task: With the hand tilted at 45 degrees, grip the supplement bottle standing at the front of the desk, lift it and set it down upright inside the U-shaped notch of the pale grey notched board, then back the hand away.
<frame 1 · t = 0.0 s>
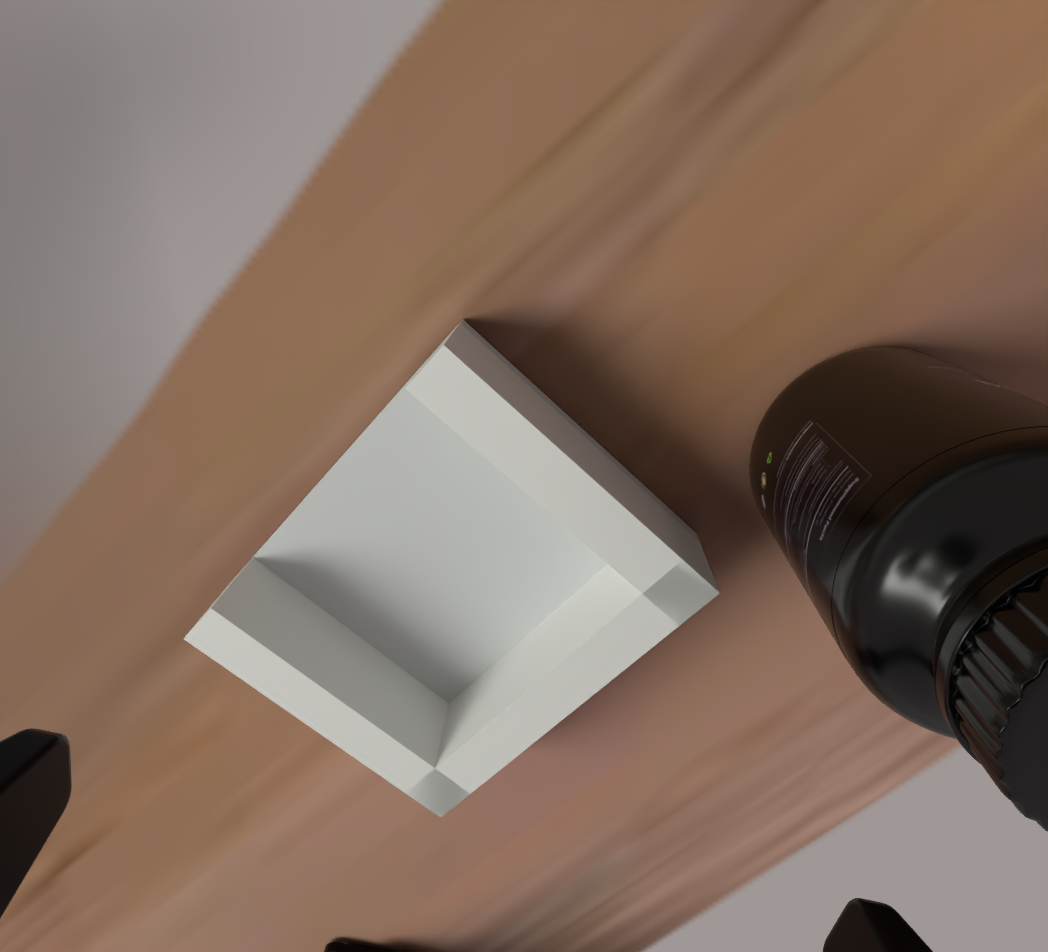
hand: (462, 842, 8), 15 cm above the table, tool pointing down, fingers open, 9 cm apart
supplement bottle: (853, 449, 21), on the table
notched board: (435, 536, 23), on the table
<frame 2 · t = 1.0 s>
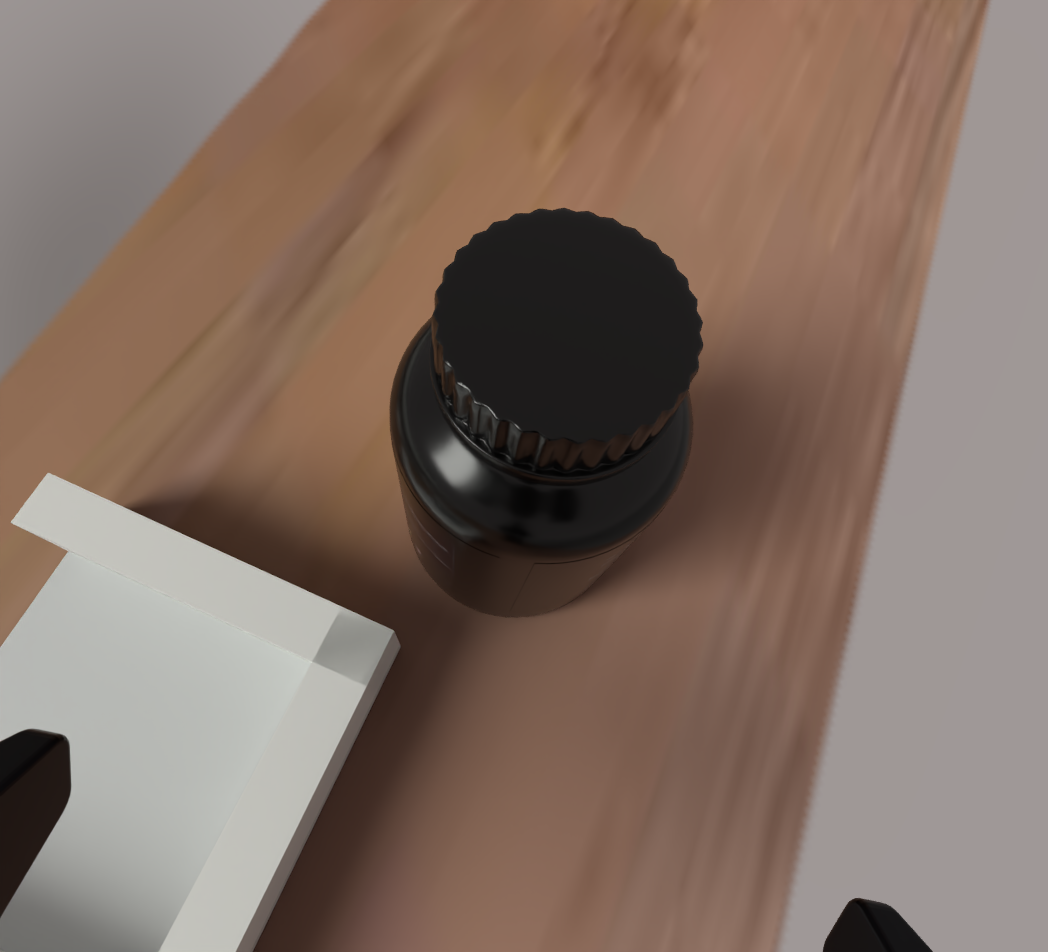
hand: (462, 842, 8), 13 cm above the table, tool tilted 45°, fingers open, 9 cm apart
supplement bottle: (509, 519, 23), on the table
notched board: (106, 759, 19), on the table
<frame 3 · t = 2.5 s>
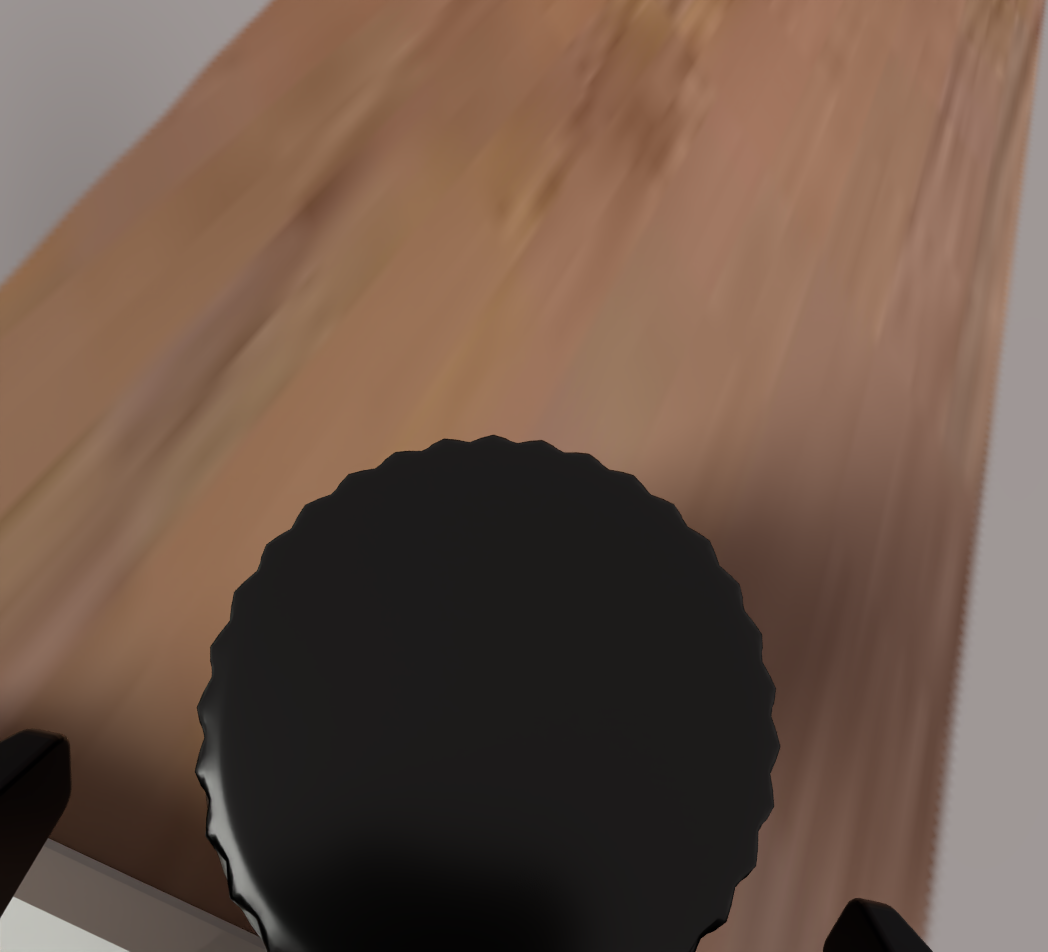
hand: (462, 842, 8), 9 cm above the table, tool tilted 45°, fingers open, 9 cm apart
supplement bottle: (459, 737, 17), on the table
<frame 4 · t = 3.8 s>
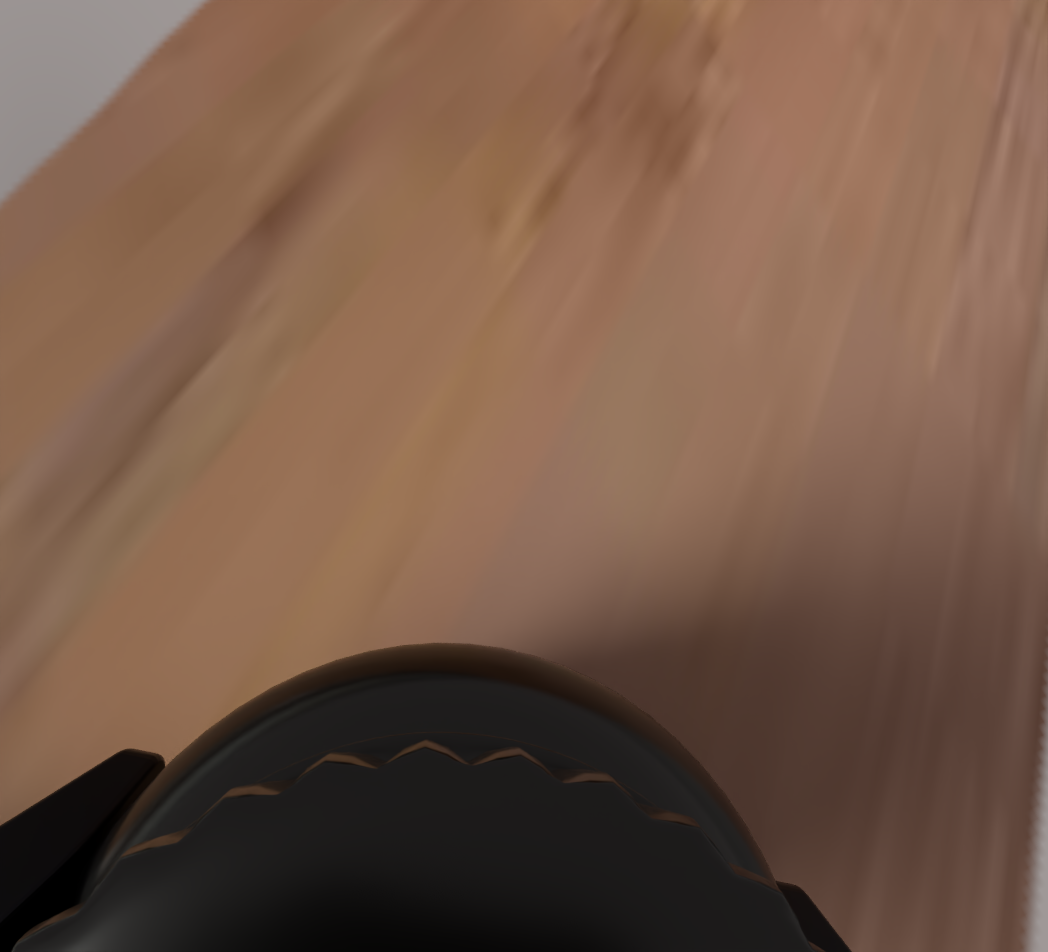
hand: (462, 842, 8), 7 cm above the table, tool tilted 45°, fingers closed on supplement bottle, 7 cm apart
supplement bottle: (435, 880, 14), on the table, touching gripper
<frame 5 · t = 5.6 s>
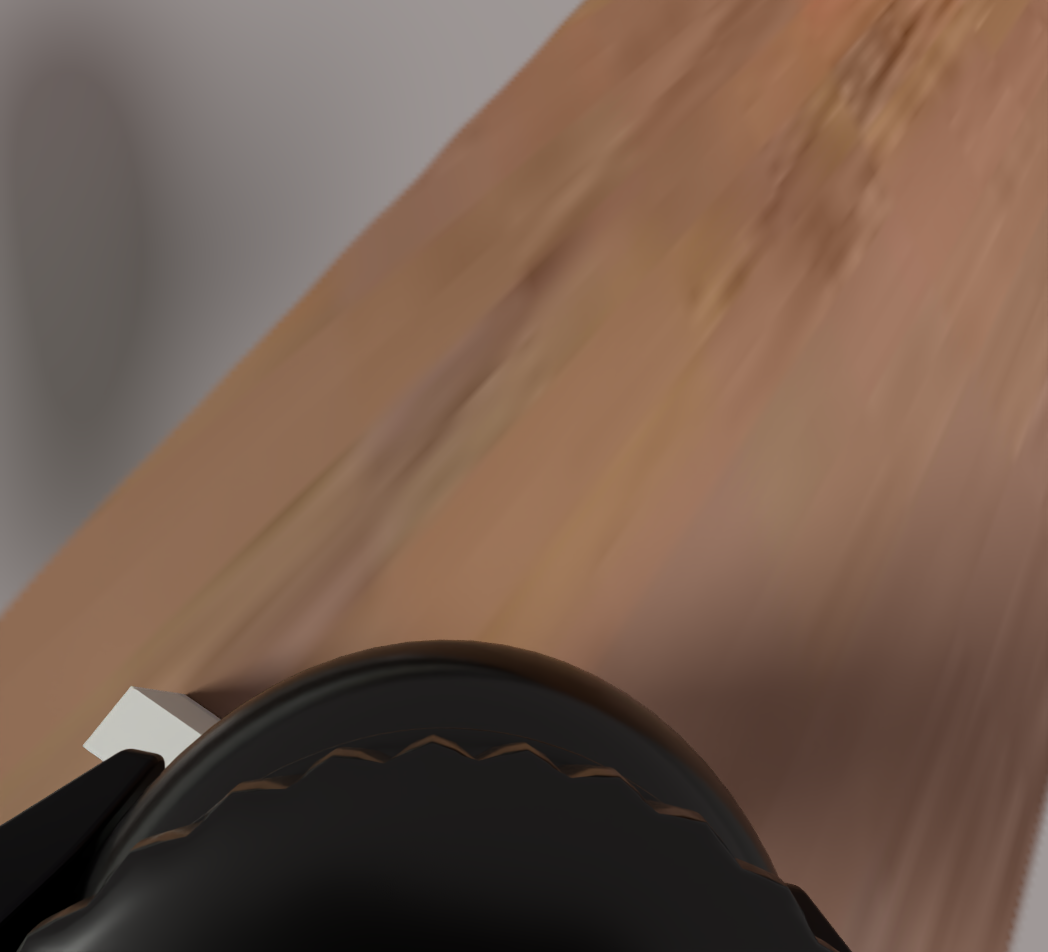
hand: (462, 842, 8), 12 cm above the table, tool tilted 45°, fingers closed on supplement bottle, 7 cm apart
supplement bottle: (438, 877, 14), point 5 cm above the table, touching gripper
when the fingers open (8 cm above the table, at t = 7.6 s): supplement bottle drops 1 cm, resting on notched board.
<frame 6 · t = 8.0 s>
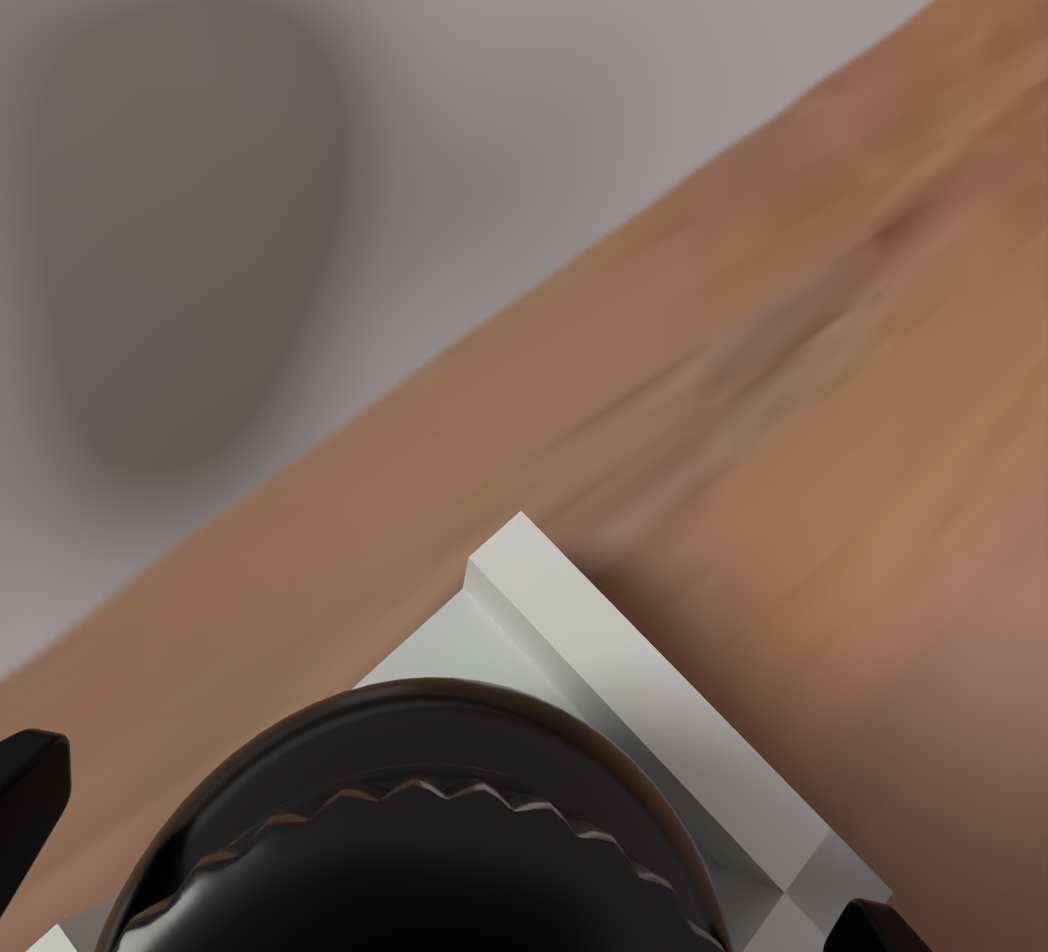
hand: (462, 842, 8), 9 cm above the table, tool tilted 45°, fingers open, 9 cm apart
supplement bottle: (429, 876, 15), resting on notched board
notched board: (433, 863, 15), on the table
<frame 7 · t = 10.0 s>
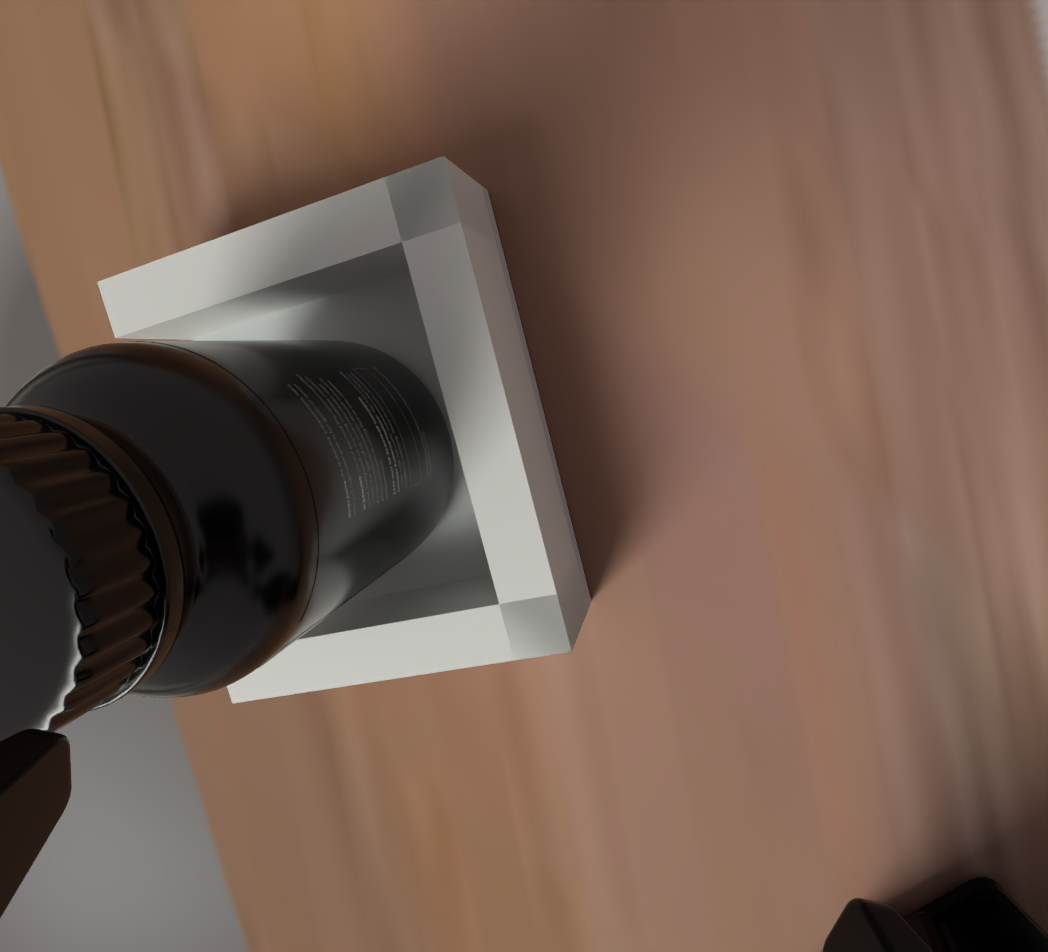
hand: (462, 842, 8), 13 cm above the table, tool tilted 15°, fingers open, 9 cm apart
supplement bottle: (354, 456, 21), resting on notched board
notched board: (356, 449, 21), on the table
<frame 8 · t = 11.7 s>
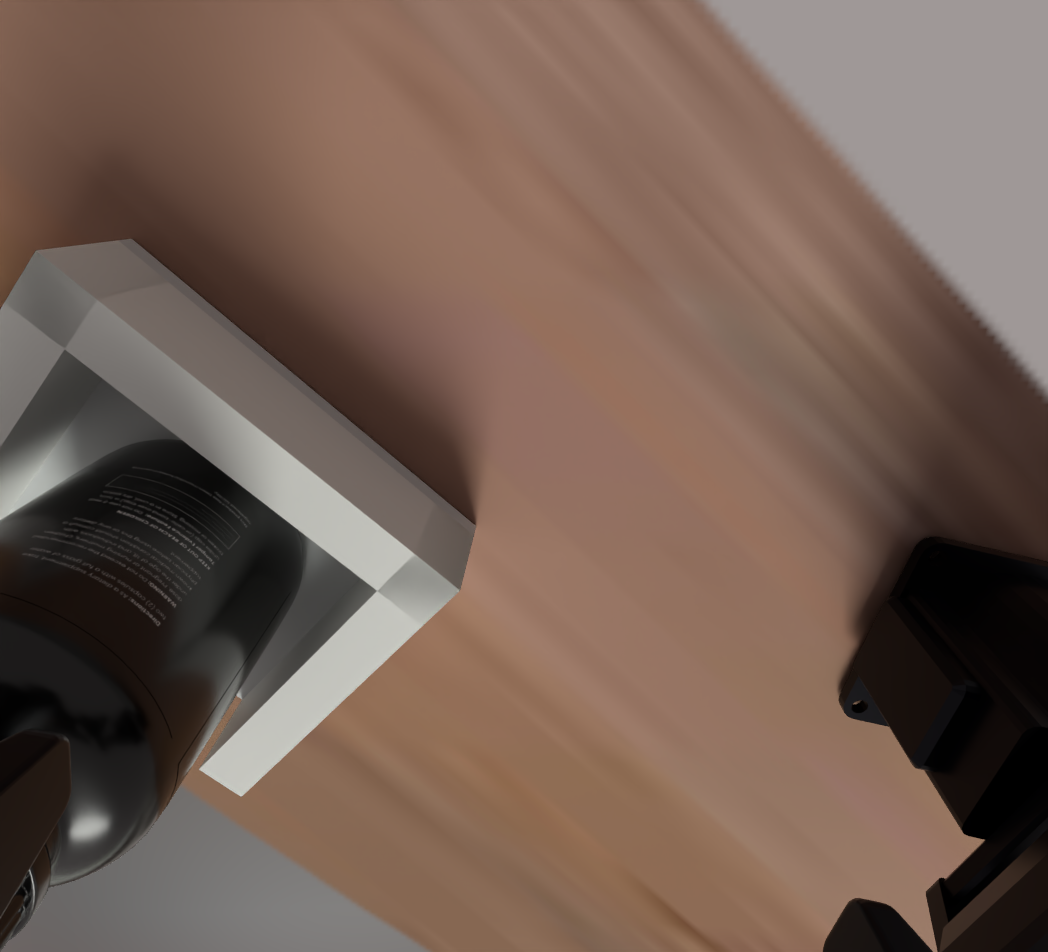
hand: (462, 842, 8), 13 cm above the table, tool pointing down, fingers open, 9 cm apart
supplement bottle: (201, 537, 21), resting on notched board
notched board: (201, 529, 21), on the table
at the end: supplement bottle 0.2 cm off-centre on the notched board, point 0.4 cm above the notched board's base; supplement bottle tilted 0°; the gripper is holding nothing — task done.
